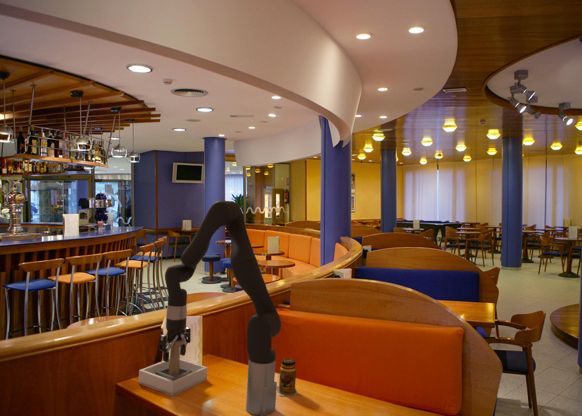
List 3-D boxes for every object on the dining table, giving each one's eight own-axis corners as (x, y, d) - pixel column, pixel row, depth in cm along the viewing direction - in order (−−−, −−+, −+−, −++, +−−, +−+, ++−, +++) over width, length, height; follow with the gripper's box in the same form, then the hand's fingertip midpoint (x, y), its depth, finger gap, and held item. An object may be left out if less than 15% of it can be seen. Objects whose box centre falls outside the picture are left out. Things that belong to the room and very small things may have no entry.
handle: (180, 382, 163) (182, 342, 163) (163, 381, 163) (165, 341, 163) (183, 377, 168) (185, 338, 168) (167, 376, 168) (169, 337, 168)
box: (206, 379, 169) (207, 367, 169) (172, 396, 153) (173, 382, 153) (173, 368, 178) (174, 356, 178) (138, 383, 163) (139, 370, 162)
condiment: (280, 396, 158) (282, 364, 158) (274, 386, 166) (276, 356, 166) (299, 395, 160) (301, 363, 160) (292, 385, 168) (294, 355, 168)
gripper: (169, 322, 157) (167, 366, 158) (196, 314, 170) (194, 355, 170) (155, 318, 161) (153, 361, 161) (182, 311, 173) (180, 351, 174)
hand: (174, 358), depth 166 cm, fingers open, 8 cm apart
